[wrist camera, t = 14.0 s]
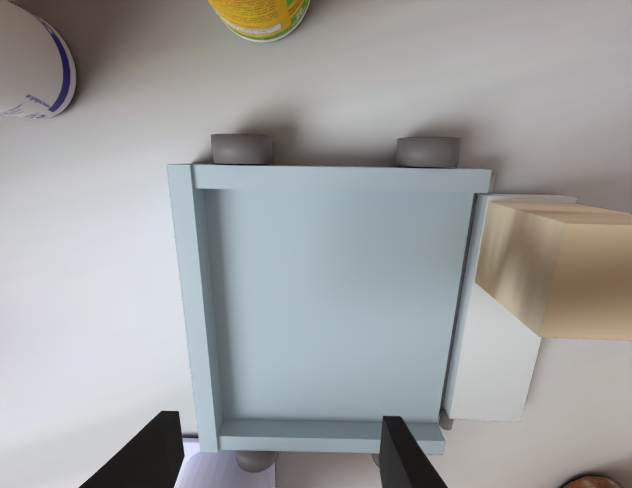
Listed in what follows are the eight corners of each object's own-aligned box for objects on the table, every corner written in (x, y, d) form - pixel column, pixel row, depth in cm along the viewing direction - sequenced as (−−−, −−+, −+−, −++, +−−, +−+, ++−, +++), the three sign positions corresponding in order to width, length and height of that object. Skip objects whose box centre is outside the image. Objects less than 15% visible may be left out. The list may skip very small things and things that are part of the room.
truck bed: (444, 436, 24) (463, 477, 21) (216, 431, 24) (201, 471, 21) (494, 142, 18) (531, 138, 14) (188, 137, 18) (160, 132, 15)
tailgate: (441, 402, 23) (508, 405, 23) (449, 418, 22) (520, 422, 21) (475, 192, 19) (557, 194, 18) (487, 195, 17) (577, 197, 17)
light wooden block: (557, 284, 18) (660, 341, 13) (474, 281, 19) (539, 337, 13) (578, 203, 17) (703, 226, 11) (488, 201, 17) (567, 223, 12)
